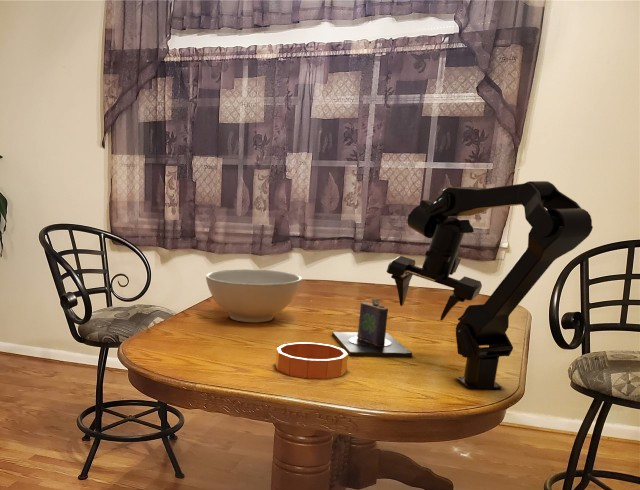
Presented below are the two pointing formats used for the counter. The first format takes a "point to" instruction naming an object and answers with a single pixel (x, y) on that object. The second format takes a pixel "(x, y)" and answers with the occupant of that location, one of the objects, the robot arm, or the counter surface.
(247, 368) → the counter surface
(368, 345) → the hob plate
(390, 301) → the counter surface
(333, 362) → the orange round tray
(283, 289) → the decorative bowl
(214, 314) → the counter surface
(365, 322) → the flask
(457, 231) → the robot arm
